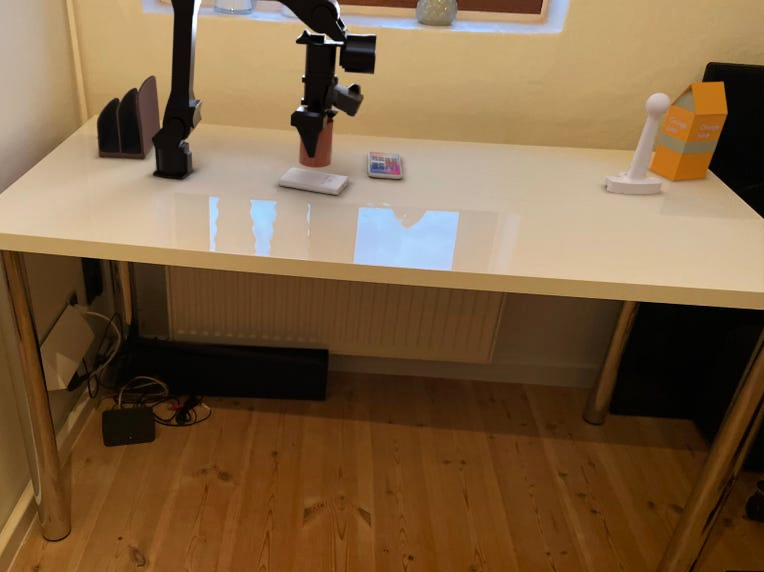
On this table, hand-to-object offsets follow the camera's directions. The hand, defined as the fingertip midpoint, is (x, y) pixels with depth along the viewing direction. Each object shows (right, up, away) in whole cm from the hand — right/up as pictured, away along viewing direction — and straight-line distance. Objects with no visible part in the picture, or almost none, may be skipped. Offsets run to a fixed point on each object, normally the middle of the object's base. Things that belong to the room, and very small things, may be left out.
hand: (315, 152), depth 147 cm
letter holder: (-41, +7, +20) cm, 47 cm away
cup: (0, -2, +1) cm, 2 cm away
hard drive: (0, -6, +4) cm, 7 cm away
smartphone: (+15, +1, +15) cm, 21 cm away
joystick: (+67, -5, +11) cm, 68 cm away
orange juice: (+82, +1, +20) cm, 85 cm away
